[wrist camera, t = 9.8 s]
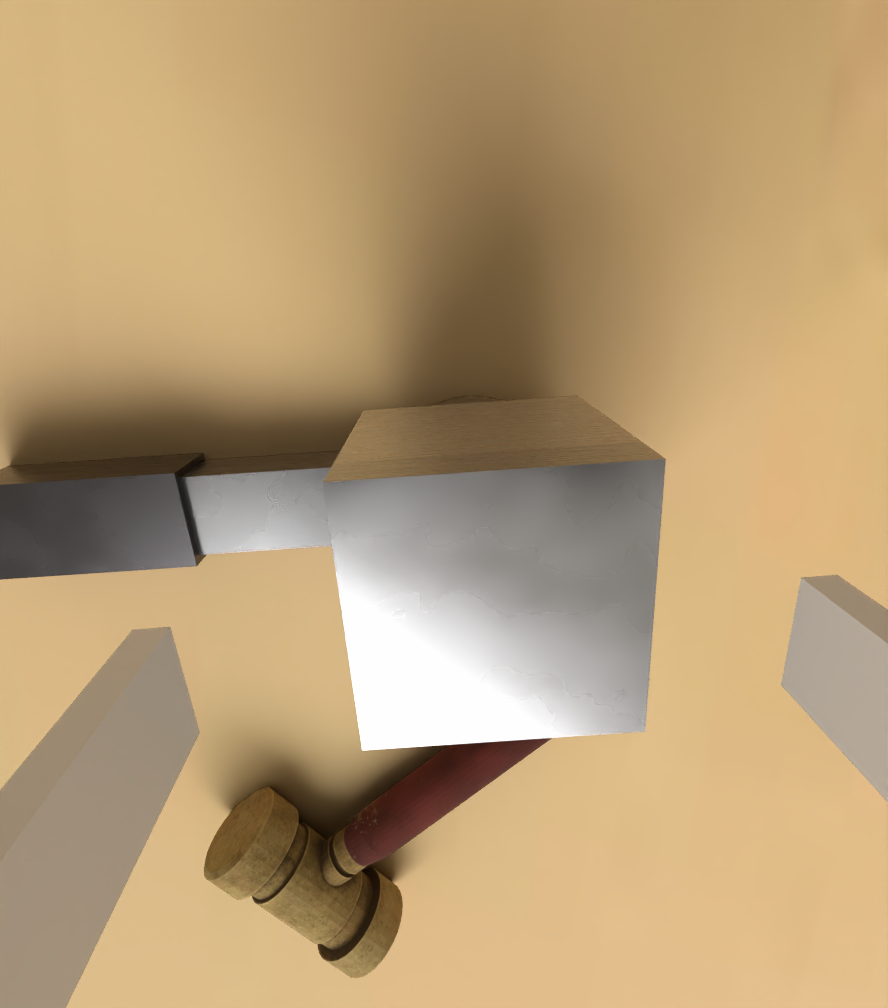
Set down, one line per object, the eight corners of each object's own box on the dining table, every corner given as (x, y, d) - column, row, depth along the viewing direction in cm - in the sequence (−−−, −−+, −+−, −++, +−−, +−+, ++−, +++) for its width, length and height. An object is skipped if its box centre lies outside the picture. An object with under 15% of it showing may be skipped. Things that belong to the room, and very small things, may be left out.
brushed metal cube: (385, 597, 23) (362, 750, 15) (363, 410, 20) (322, 482, 12) (573, 584, 23) (645, 731, 15) (577, 395, 20) (665, 459, 12)
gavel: (543, 627, 23) (672, 768, 26) (521, 578, 28) (633, 703, 30) (188, 898, 26) (338, 997, 29) (218, 815, 31) (346, 909, 34)
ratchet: (50, 581, 25) (-111, 704, 18) (-4, 427, 23) (-216, 494, 15) (554, 548, 25) (605, 656, 18) (554, 389, 23) (615, 438, 15)
